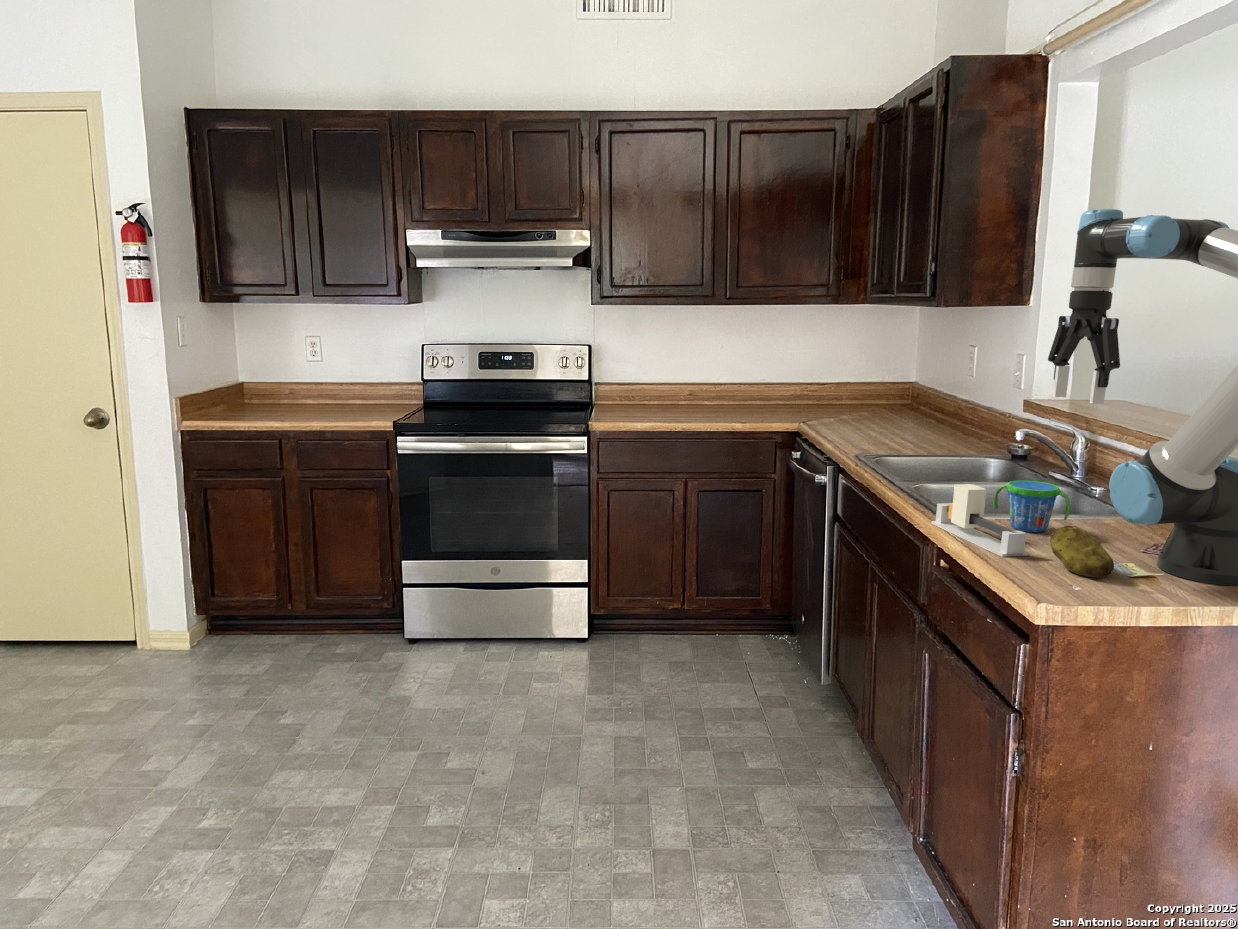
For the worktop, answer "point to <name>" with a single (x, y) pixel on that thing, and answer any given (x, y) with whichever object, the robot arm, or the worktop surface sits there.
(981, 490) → the tall cream pillar
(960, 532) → the sliding block rail
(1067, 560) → the potato
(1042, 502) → the snack cup
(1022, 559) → the worktop surface
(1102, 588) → the worktop surface
